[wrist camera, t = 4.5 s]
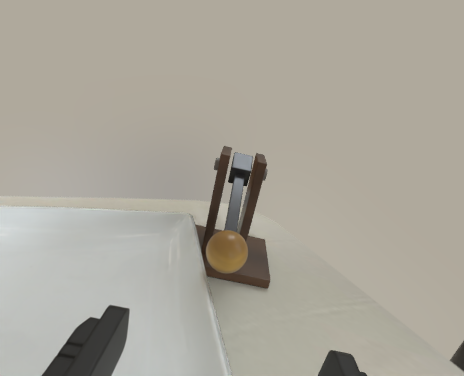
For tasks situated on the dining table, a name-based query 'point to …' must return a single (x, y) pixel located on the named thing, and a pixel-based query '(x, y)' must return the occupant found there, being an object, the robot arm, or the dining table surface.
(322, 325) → the dining table surface
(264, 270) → the latch bracket
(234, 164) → the lever
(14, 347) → the square plate
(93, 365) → the robot arm
